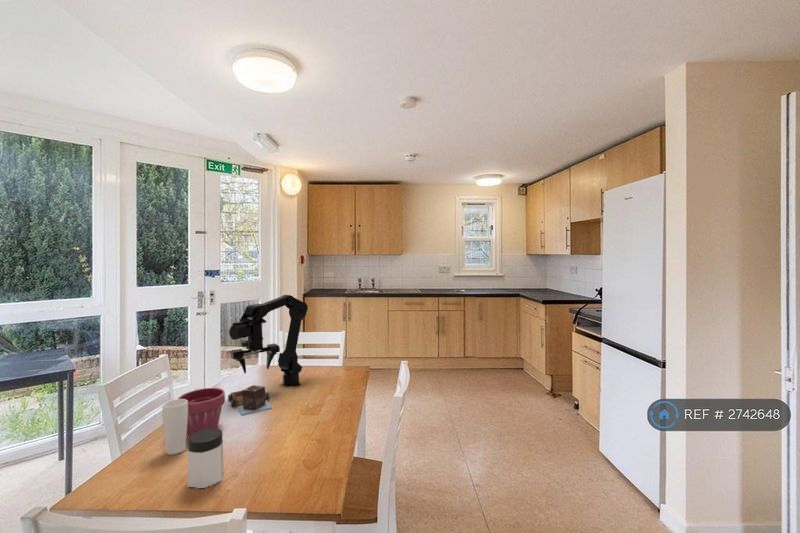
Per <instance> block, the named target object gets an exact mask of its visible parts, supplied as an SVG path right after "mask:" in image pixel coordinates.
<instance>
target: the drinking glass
mask: <svg viewBox="0 0 800 533" xmlns="http://www.w3.org/2000/svg"><path fill="white" fill-rule="evenodd" d="M161 412H162V414H161V416H162V426H163V433H164V442H165V443H164V444H165V453H166V454H167V455H170V456H172V455H173V454H175V455H178V453H179V454H180V453H183V452H184V451H185V450H186V449H187V437H188V435H187V424H188V401H187V400H186V399H178V398H176V399H172V400H169V401H166V402H164V403H163V404H162V411H161ZM173 456H174V455H173Z"/></svg>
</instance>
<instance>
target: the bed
mask: <svg viewBox="0 0 800 533" xmlns="http://www.w3.org/2000/svg"><path fill="white" fill-rule="evenodd" d="M243 390H244V389H242V390H237V391H233V392H230V394H228V396H227V400H228V402H230V406H231V407H232V408H233V410H234V409H237V406H242V405H243ZM265 400H266V401H267V402H270V400H271V399H270V394H269V392H265Z"/></svg>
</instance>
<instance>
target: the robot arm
mask: <svg viewBox="0 0 800 533" xmlns="http://www.w3.org/2000/svg"><path fill="white" fill-rule="evenodd" d="M284 306H285V307H286V308H287V309H288V315H289V316H290V323H289V327H288V333H287V337H286V343H285V349H284V350H283V351H282V352H280V350H281V348H280V345H278V344H277V343H269V344H267V345H266V346H265V347H264V344H263V342H264V341H263V340H264V337H263V324H266V323H267V320H265V319H264V317H266V316H268V314H269V313H270V312H272V311H274V310H277V309H280V308H282V307H284ZM308 307H309V306H308V304H307V303H306V302H305V301H302V300H300V299H298V298H296V297H294V296H292V295H291V294H283V295H282V296H279V297H277V298H274V299H271V300H269V301H266V302H263V303H256V304H255V303H254V304H249V305H247V306H245V309H244V312H243V314H242V316H241V318H240V319H239V321H237V322H235V321H234V322H232V324H231V327H230V328H229V330H228V333H229V337H230V339H231V340H233V341H235V340H239V339H240V345H241V348H239V349H238V348H237V349H233V350H231V351H230V357H231V358H232V360H235V361H237V362H239V364H240V366H241V367H242V368H241V369H242V371H243V373H244V374H247V368H246V367H247V366H246V360H245V359H246V358H244V357H245V356H248V355H255V354H260V353H266V370H269V368H270V367H271V363H272V360H273V359H274V357H275V355H278V353H279V352H280V353H279V355H278V360H277V362H278V367H279V369H280V371H281V372H283V375H282V384H283V385H284V386H285V387H292V386H293V387H297V386H300V385H301V383H300V373H301V372H302V369H303V366H302V365H301V364H300V363H299V362H298V361H299V356H298V354H297V346H298V342H299V336H300V330H301V326H302V321H303V320H304V318H305V317H306V315H307V311H308V309H309V308H308ZM246 338H247V339H246ZM242 348H245V349H246V350H243V349H242Z"/></svg>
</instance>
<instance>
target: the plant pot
mask: <svg viewBox="0 0 800 533" xmlns="http://www.w3.org/2000/svg"><path fill="white" fill-rule="evenodd" d="M225 394H226V393H225V390H224V389H222V388H220V387H209V388H208V387H205V388H199V389H195V390H192V391H191V390H190V391H188V392H186V393H184V394H182V395H180V396H178V398H177V399H186V400H187V401H188V424H187V437H188V438H189V437H190V436H191V435H192V434H194V433H196V432H198V431H201V430H205V429H218V427H219V423H220V419H221V412H222V407H223V405H224V404H225V402H226V395H225Z"/></svg>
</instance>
